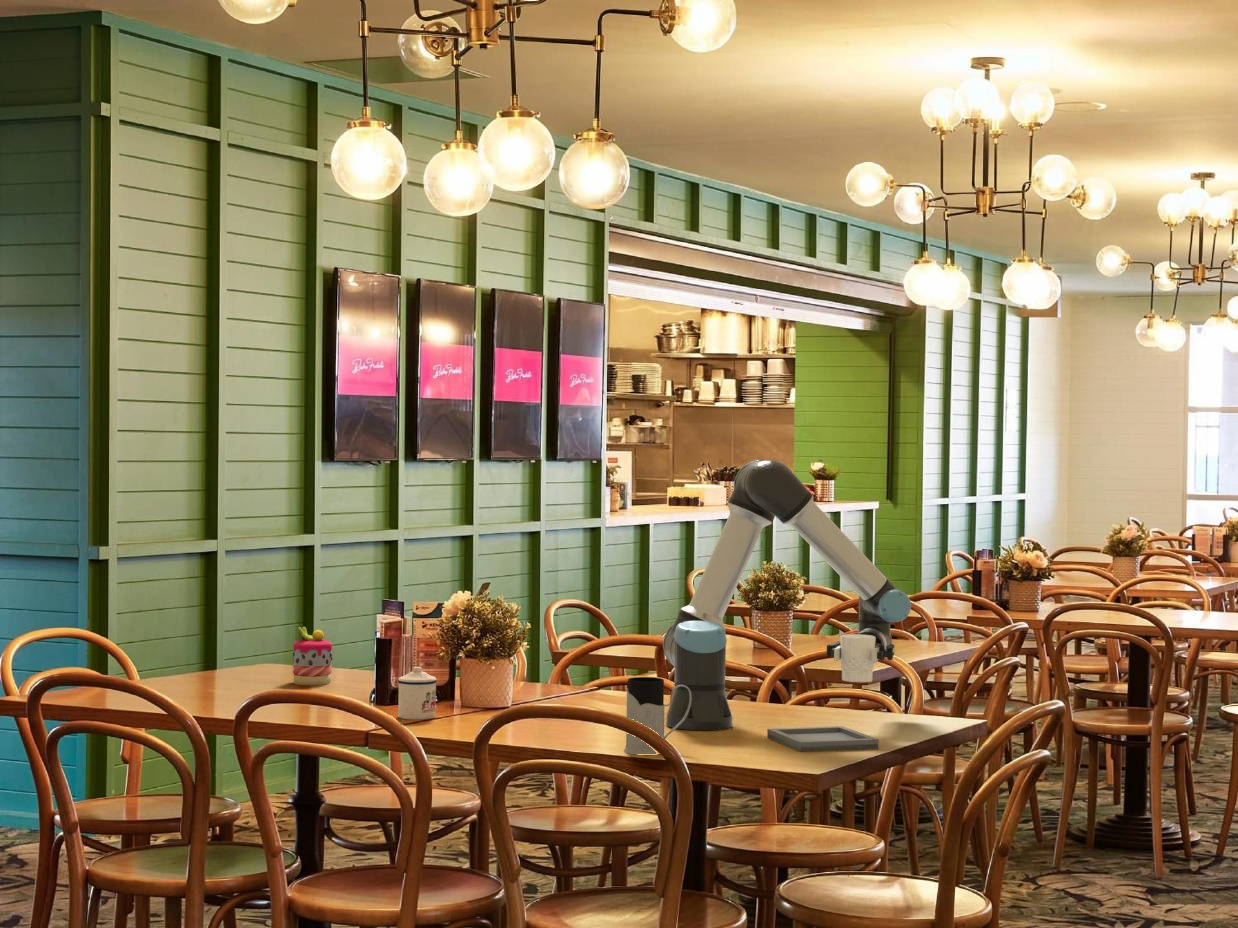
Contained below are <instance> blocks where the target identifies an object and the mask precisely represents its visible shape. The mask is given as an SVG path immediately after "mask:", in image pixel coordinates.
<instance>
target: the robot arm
mask: <svg viewBox="0 0 1238 928" xmlns="http://www.w3.org/2000/svg"><path fill="white" fill-rule="evenodd" d="M727 508H728V510H729V515H728V517H727V520H726V522H725V524H724V526H723V528H722V530H721V533H720V535H719V537H718V539H717V541H716V544H715V546H714V549H713V551H712V553H711V554H710V555H711V556H710V558H709V560H708V562H707V565H706V567H705V569H704V571H703V574H702V575H701V577H700V580H699V582H698V584H697V586H696V588H695V592H694V593H693V594H692V595H693V596H692V597H691V599H690V602H689V604H688V605H685V606H683V607H681V608H680V610H679V611H678V614H677V615H676V617H675V620H674V623H673V624H672V625H671V626H670V627H668V629H667V631H666V632H665V634H664V637H663V640H662V641H663V642H662V648H663V653H664V655H665V658H666V660H667V661H668V663H669V665H671V666H672V667H673V668H674V687H676V686H677V685H685V686H687V687H688V688H689V689H690V691H691V696H692V699H691V706H690V710H689V712H688V715H687V717H686V718H685V720H684V721H683V722H682V723H681V724H680V725H679V726H678V727H677V728H676V729H679V730H686V731H687V730H689V731H717V730H727V729H729V728H732V727H733V714H732V711H731V708H730V705H729V701H728V697H727V694H726V660H727V659H726V657H727V656H726V655H727V654H726V653H727V650H726V649H727V647H726V645H727V640H728V639H727V636H726V626H725V623H724V621H723V618H724V616H725V614H726V611H727V609H728V607H729V605H730V603H731V602H732V601H731V600H732V598H733V596H734V594H735V592H736V589H737V588H738V585H739V583H740V580H741V578H742V576H743V573H744V571H745V569H746V567H747V564H748V563H749V560H750V558H751V555H752V553H753V551H754V548H755V547H756V544H757V542H758V539H759V537H760V535H761V533H762V531H763V528H765V527H767V526H770V525H772V524H773V522H774V519H775V518H777V519H778V520H779V522H780V523H782V525H789V526H791V527H792V528H793V529H794V531H795V532H797V534H798V535H800V537H802V539H803V540H805V542H806V543H808V545H809V546H810V547H811V548H812V549H813V550H814V551H815V552H816V553H817V554H818V555H819V556H820V557H821V558H822V560H824V561H825V562H826V563H827V564H828V565H829V567H831V568H832V569H833V570H834V571H835V572H836V573H837V574H838V575H839V577H841V579H843V580H844V581H845V583H847V585H848V586H849V587H850V588H851V589H852V590H853V591H854V592H855V594H857V595H858V633H857V634H859V635H871V636H875V637H876V640H875V649H873V650H872V663H874V664H876V663H877V662H878V661H879V660H880V661H884V660H885V658H886V659H887V660H889V661H892V660H893V659H894V658H893V656H895V644H893V639H892V634H891V623H899V622H901V621H904V620H906V618H907V617H908V616H909V614H910V613H911V609H912V603H911V600H910V597H909V596H908V595H907V593H905V592H904V591H903V590H901V589H899V588H897V587H896V586H895V585H894V584H893V583H892V582H891V579H890V578H889V577H886V576H885V575H884V574H883V573H882V572H881V570H879V569H878V567H876V565H875V564H874V563H873V562H872V561H871V560H870V559H869V558H868V557H867V556H866V555H865V554H864V553H863V552H862V551H861V550H860V549H859V548H858V547H857V545H855V543H854V542H853V541H852V539H850V538H849V537H848V536H847V535H846V534H845V533H844V532H843V531H842V530H841V529H840V528H839V527H838V526H837V525H836V523H834V522H833V521H832V520H831V518H829V516H828V515H827V514H826V513H825V512H824V511H823V510H822V509H821V508H820V507H819V506H818V505H817V504H816V503H815V502H814V495H813V493H812V492H811V491H810V490H809V489H808V488H807V487H806V485H804V483H803V482H802V481H801V480H800V479H799V478H798V476H796V474H795V473H794V472H793V471H792V470H791V469H790V468H789V467H788V466H787V465H785V463H783V462H780V461H777V460H774V459H773V460H772V459H766V460H765V459H757V460H752V461H750V462H748V463H746V464H745V465H743V466H742V467H741V468H740V469H739V470H738V472H737V474H736V476H735V478H734V481H733V490H732V493H731V494H730V497H729V499H728V501H727ZM826 657H828V658H830V657H833V661H834V662H838V661H841V647H840V640H837V641H835V642H834V643H831V644H827V645H826ZM689 698H690V696H689V691H688V689H687V688H686V687H682V686H680V687H678V688H676V690H675V691H674V693H673V699H672V704H671V705H669V706H668V709H667V712H666V719H665V720H666V726H667V727H670V728H672V729H673V728H674V727H675V726H676V725H677V724H678V723H679V722H680V721H681V720H682V719H683V717H684V715H685V713H686V711H687V709H688V705H689Z"/></svg>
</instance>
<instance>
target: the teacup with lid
mask: <svg viewBox="0 0 1238 928" xmlns="http://www.w3.org/2000/svg"><path fill="white" fill-rule="evenodd" d="M397 683H398V709H397V710H398V714H397V717H399V719H403V720H411V721H415V720H416V721H417V720H419V721H420V720H424V721H425V720H431V719H434V718H435V717H436V705H437V703H436V702H437V700H436V699H437V693H436V692H437V683H438V681H437V678H436V676H434V675H430V674H428V673H427V672H425V671H423V668H422V667H420V666H414V667H413V669H412V671H410V672H408V673H406V674H405V675H403V676H400V677H399V678H398V680H397Z"/></svg>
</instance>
